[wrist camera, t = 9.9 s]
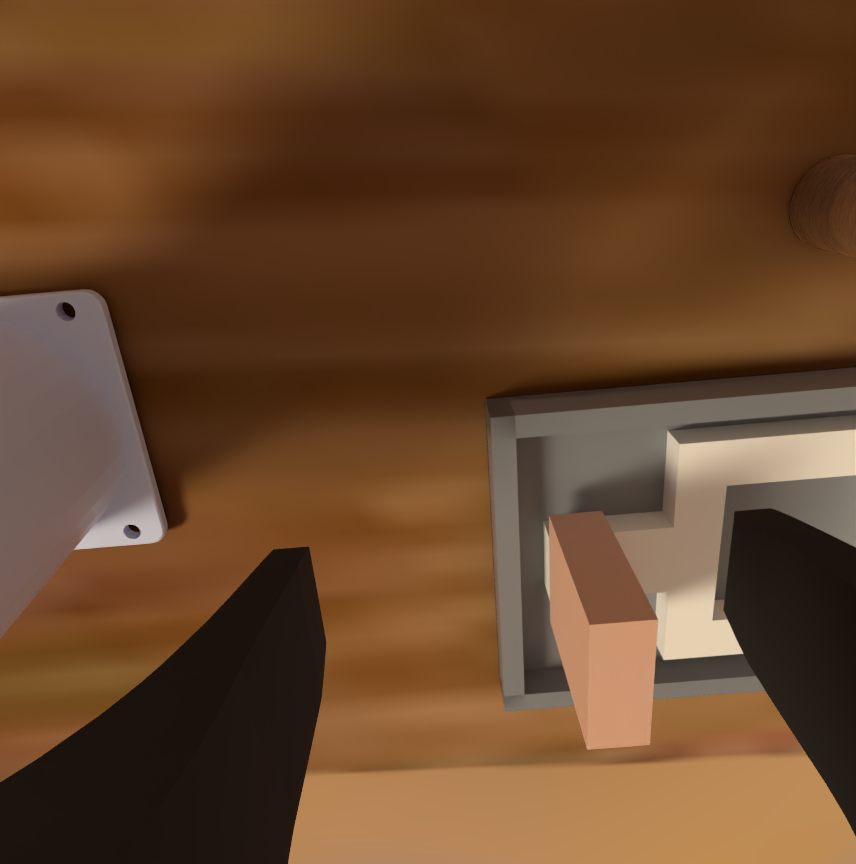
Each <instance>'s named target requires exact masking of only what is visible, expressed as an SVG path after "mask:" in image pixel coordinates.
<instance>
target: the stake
mask: <svg viewBox="0 0 856 864" xmlns="http://www.w3.org/2000/svg"><path fill="white" fill-rule="evenodd" d="M789 214H790V222H791V226H792V228H793V230H794V232H795V234H796V235H797V236H798V238H799V239H800V240H802V241H803V242H804V243H806V244H808V245H810V246H813V247H816V248H820V249H824V250H828V251H832V252H835V253H839V254H843V255H847V256H851V257H854V258H856V155H837V156H833V157H829V158H827V159H825V160H823V161H821V162H819V163H818V164H816V165H815V166H813V167H812V168H811V169H810V170H809V171H808V172H807V173H806V174H805V175H804V176H803V177H802V179H801V180H800V181H799V183H798V185H797V186H796V188H795V190H794V193H793V195H792V199H791V203H790V211H789Z"/></svg>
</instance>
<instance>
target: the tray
mask: <svg viewBox="0 0 856 864" xmlns="http://www.w3.org/2000/svg"><path fill="white" fill-rule="evenodd" d="M485 408H486V428H487V447H488V466H489V485H490V505H491V524H492V543H493V562H494V582H495V601H496V620H497V639H498V658H499V678H500V685H501V691H502V697H503V703H504V709H505V712H507V711H519V710H532V709H544V708H556V707H569V706H575V705H574V702H573V699H572V695H571V692H570V688H569V685H568V681H567V678H566V674H565V671H564V668H563V664H562V661H561V657H560V654H559V650H558V647H557V643H556V640H555V636H554V633H553V630H552V626H551V623H550V600H549V597H548V593H547V590H546V587H545V583H544V532H543V521H547V520H549V515H557V514H569V513H581V512H593V511H602V512H603V513H604V515H605V516H607V515H620V514H632V513H644V512H656V511H662V508H663V493H664V478H665V463H666V448H667V433H668V431H669V430H681V429H693V428H705V427H717V426H729V425H740V424H752V423H764V422H776V421H788V420H800V419H812V418H824V417H835V416H847V415H856V367H852V368H841V369H829V370H817V371H806V372H794V373H782V374H771V375H759V376H747V377H736V378H724V379H712V380H701V381H689V382H677V383H665V384H654V385H642V386H630V387H619V388H607V389H595V390H584V391H572V392H560V393H549V394H537V395H525V396H514V397H502V398H490V399H485ZM767 508H772V509H775V510H777V511H780V512H782V513H785V514H787V515H789V516H792V517H794V518H796V519H798V520H800V521H803V522H805V523H807V524H809V525H811V526H813V527H815V528H817V529H819V530H821V531H823V532H825V533H827V534H830V535H832V536H834V537H836V538H838V539H840V540H842V541H844V542H846V543H848V544H850V545H852V546H854V547H856V475H851V476H839V477H827V478H815V479H803V480H791V481H779V482H767V483H755V484H743V485H731V486H727V489H726V499H725V508H724V517H723V526H722V536H721V545H720V554H719V563H718V572H717V582H716V591H715V600H724V599H725V591H726V582H727V573H728V564H729V556H730V547H731V538H732V530H733V521H734V512H735V511H743V510H755V509H767ZM645 595H646V597H647V599H648V601H649V603H650V604H651V606H652V608H653V610H654V612H655V614H656V599H657V593H649V594H645ZM756 691H765V689H764V688H763V686H762V684H761V683H760V681H759V680H758V678H757V677H756V675H755V673H754V672H753V670H752V669H751V667H750V665H749V664H748V662H747V660H746V658H745V656H744V654H734V655H722V656H709V657H697V658H684V659H672V660H663V658H662V656H661V654H660V652H659V649H658V647H657V645H656V660H655V675H654V689H653V700H656V699H669V698H681V697H694V696H706V695H718V694H731V693H743V692H756Z"/></svg>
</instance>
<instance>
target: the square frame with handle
mask: <svg viewBox="0 0 856 864" xmlns="http://www.w3.org/2000/svg"><path fill="white" fill-rule="evenodd" d="M851 475H856V415H847V416H835V417H824V418H812V419H800V420H788V421H776V422H764V423H752V424H740V425H729V426H717V427H705V428H693V429H681V430H669V431H668V433H667V448H666V463H665V478H664V493H663V508H662V511H656V512H644V513H632V514H620V515H607V516H605V515H604V513H603V512H602V511H593V512H581V513H569V514H557V515H549V520H547V521H543V532H544V583H545V587H546V590H547V593H548V597H549V600H550V623H551V626H552V630H553V633H554V636H555V640H556V643H557V647H558V650H559V654H560V657H561V661H562V664H563V668H564V671H565V674H566V678H567V681H568V685H569V688H570V692H571V695H572V699H573V702H574V705H575V709H576V712H577V716H578V719H579V723H580V726H581V730H582V733H583V737H584V740H585V743H586V747H587V750H590V749H602V748H615V747H628V746H640V745H650V733H651V718H652V704H653V689H654V675H655V660H656V645H657V647H658V649H659V652H660V654H661V656H662V658H663V660H672V659H684V658H697V657H709V656H722V655H734V654H743V652H742V650H741V648H740V646H739V644H738V642H737V640H736V637H735V635H734V633H733V631H732V628H731V626H730V624H729V622H728V619H727V617H726V615H725V613H724V611H723V608H724V600H715V591H716V582H717V572H718V563H719V554H720V545H721V536H722V526H723V517H724V508H725V499H726V489H727V486H731V485H743V484H755V483H767V482H779V481H791V480H803V479H815V478H827V477H839V476H851ZM649 593H657V599H656V614H655V612H654V610H653V608H652V606H651V604H650V603H649V601H648V599H647V597H646V595H645V594H649Z"/></svg>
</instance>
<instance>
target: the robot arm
mask: <svg viewBox="0 0 856 864" xmlns="http://www.w3.org/2000/svg"><path fill="white" fill-rule="evenodd" d="M64 302H66V303H69V304H70V305H72V306H73V308H74V309H75V315H76V316H75V317H74V318H73V317H69V316H68V315H66V314H65V312H64V311H63V303H64ZM128 525H135V526H137V527H138V528H139V529H140V531H141V532H134V531H132V530H131V529H130V528H129V526H128ZM167 529H168V525H167V520H166V516H165V513H164V509H163V506H162V502H161V498H160V495H159V491H158V487H157V484H156V480H155V477H154V473H153V469H152V466H151V462H150V458H149V455H148V451H147V448H146V444H145V440H144V437H143V433H142V429H141V426H140V422H139V419H138V415H137V411H136V408H135V404H134V400H133V397H132V393H131V389H130V386H129V382H128V379H127V375H126V371H125V368H124V364H123V360H122V357H121V353H120V350H119V346H118V342H117V339H116V335H115V331H114V328H113V324H112V321H111V317H110V313H109V310H108V306H107V304H106V302H105V300H104V298H103V297H102V296H101V295H100V294H99V293H97V292H95V291H93V290H88V289H80V290H69V291H57V292H46V293H34V294H23V295H12V296H0V639H1V637H2V636H3V635H4V634H5V632H6V631H7V630H8V629H9V628H10V626H11V625H12V624H13V623H14V622H15V620H16V619H17V618H18V617H19V616H20V614H21V613H22V612H23V611H24V609H25V608H26V607H27V606H28V605H29V603H30V602H31V601H32V600H33V599H34V597H35V596H36V595H37V594H38V592H39V591H40V590H41V589H42V588H43V586H44V585H45V584H46V583H47V582H48V580H49V579H50V578H51V577H52V575H53V574H54V573H55V572H56V571H57V569H58V568H59V567H60V566H61V565H62V563H63V562H64V561H65V560H66V558H67V557H68V556H69V555H70V554H71V552H72V551H73V550H77V549H89V548H101V547H113V546H125V545H137V544H149V543H155V542H158V541H160V540H161V539H162V538H163V536H164V535H165V533H166V531H167ZM723 611H724V613H725V615H726V617H727V619H728V622H729V624H730V626H731V628H732V631H733V633H734V635H735V637H736V640H737V642H738V644H739V646H740V648H741V650H742V652H743V654H744V656H745V658H746V660H747V662H748V664H749V665H750V667H751V669H752V670H753V672H754V673H755V675H756V677H757V678H758V680H759V681H760V683H761V684H762V686H763V688H764V689H765V691H766V692H767V694H768V695H769V697H770V699H771V700H772V702H773V703H774V705H775V706H776V708H777V709H778V711H779V712H780V714H781V716H782V717H783V719H784V720H785V722H786V723H787V725H788V726H789V728H790V729H791V731H792V732H793V734H794V735H795V737H796V738H797V740H798V742H799V743H800V745H801V746H802V748H803V749H804V751H805V752H806V754H807V755H808V757H809V758H810V760H811V761H812V763H813V765H814V766H815V768H816V769H817V771H818V772H819V773H820V775H821V777H822V778H823V780H824V781H825V783H826V784H827V786H828V788H829V789H830V791H831V793H832V794H833V796H834V798H835V800H836V801H837V803H838V804H839V806H840V808H841V809H842V811H843V813H844V815H845V817H846V818H847V820H848V822H849V824H850V826H851V828H852V830H853V831H854V834H855V836H856V547H854V546H852V545H850V544H848V543H846V542H844V541H842V540H840V539H838V538H836V537H834V536H832V535H830V534H827V533H825V532H823V531H821V530H819V529H817V528H815V527H813V526H811V525H809V524H807V523H805V522H803V521H800V520H798V519H796V518H794V517H792V516H789V515H787V514H785V513H782V512H780V511H777V510H775V509H772V508H767V509H755V510H743V511H735V512H734V521H733V530H732V538H731V547H730V556H729V564H728V573H727V582H726V591H725V599H724V608H723ZM325 653H326V638H325V633H324V627H323V621H322V616H321V610H320V605H319V599H318V594H317V588H316V583H315V577H314V572H313V566H312V561H311V555H310V550H309V547H299V548H287V549H275V550H273V551H272V552H271V553H270V554H269V555H268V556H267V557H266V558H265V559H264V560H263V561H262V562H261V563H260V565H259V566H258V567H257V568H256V569H255V570H254V571H253V572H252V573H251V574H250V576H249V577H248V578H247V579H246V580H245V581H244V582H243V583H242V584H241V585H240V587H239V588H238V589H237V590H236V591H235V592H234V593H233V594H232V595H231V596H230V598H229V599H228V600H227V601H226V602H225V603H224V604H223V605H222V606H221V607H220V608H219V609H218V610H217V611H216V612H215V613H214V614H213V616H212V617H211V618H210V619H209V620H208V621H207V622H206V623H205V624H204V625H203V626H202V627H201V628H200V629H199V630H198V631H197V632H195V633H194V634H193V635H192V636H191V637H190V638H189V639H188V640H187V641H186V642H185V643H184V644H183V645H182V646H181V647H180V648H179V649H178V650H177V651H176V652H175V653H174V654H173V655H171V656H170V657H169V658H168V659H167V660H166V661H165V662H164V663H163V664H162V665H161V666H160V667H159V668H157V669H156V670H155V671H154V672H153V673H152V674H151V675H149V676H148V677H147V678H146V679H145V680H143V681H142V682H141V683H140V684H139V685H138V686H136V687H135V688H134V689H133V690H131V691H130V692H129V693H128V694H126V695H125V696H124V697H123V698H121V699H120V700H119V701H118V702H116V703H115V704H114V705H113V706H111V707H110V708H109V709H107V710H106V711H105V712H103V713H102V714H101V715H100V716H98V717H97V718H95V719H94V720H93V721H91V722H90V723H88V724H87V725H85V726H84V727H83V728H81V729H80V730H78V731H77V732H75V733H74V734H73V735H71V736H70V737H68V738H67V739H65V740H64V741H63V742H61V743H60V744H58V745H57V746H55V747H54V748H53V749H51V750H50V751H48V752H47V753H45V754H44V755H43V756H41V757H40V758H38V759H37V760H35V761H34V762H32V763H31V764H29V765H27V766H26V767H24V768H23V769H21V770H19V771H18V772H16V773H15V774H13V775H11V776H10V777H8V778H7V779H5V780H4V781H2V782H0V864H288V859H289V853H290V847H291V841H292V835H293V829H294V825H295V820H296V815H297V811H298V806H299V801H300V797H301V792H302V787H303V783H304V778H305V774H306V769H307V764H308V760H309V755H310V750H311V746H312V741H313V736H314V732H315V727H316V722H317V717H318V713H319V708H320V703H321V698H322V688H323V677H324V666H325Z"/></svg>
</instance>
